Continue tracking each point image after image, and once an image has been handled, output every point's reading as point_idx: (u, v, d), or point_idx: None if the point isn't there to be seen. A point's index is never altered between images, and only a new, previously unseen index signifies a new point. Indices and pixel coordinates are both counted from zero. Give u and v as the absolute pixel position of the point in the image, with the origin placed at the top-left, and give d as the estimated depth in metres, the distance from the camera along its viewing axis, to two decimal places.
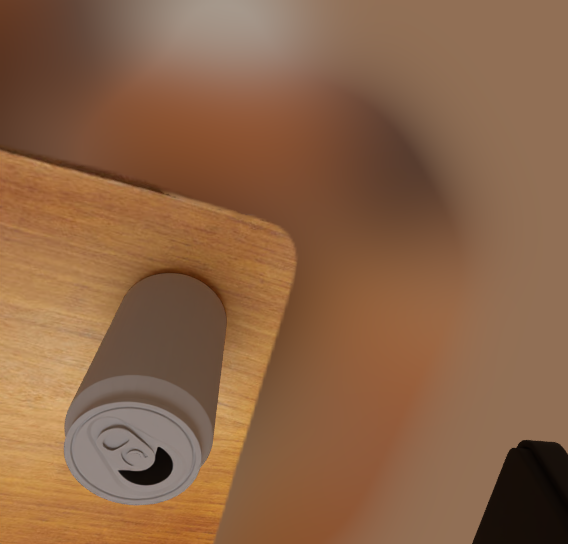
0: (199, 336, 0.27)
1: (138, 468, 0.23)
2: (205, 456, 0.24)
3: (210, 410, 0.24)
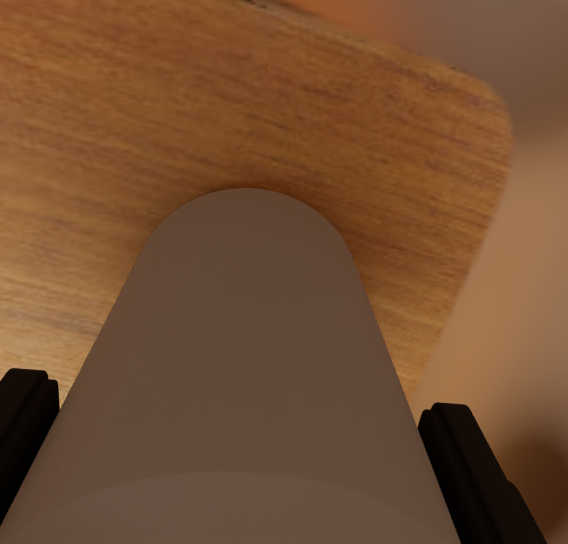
0: (362, 322, 0.10)
1: None
2: None
3: None
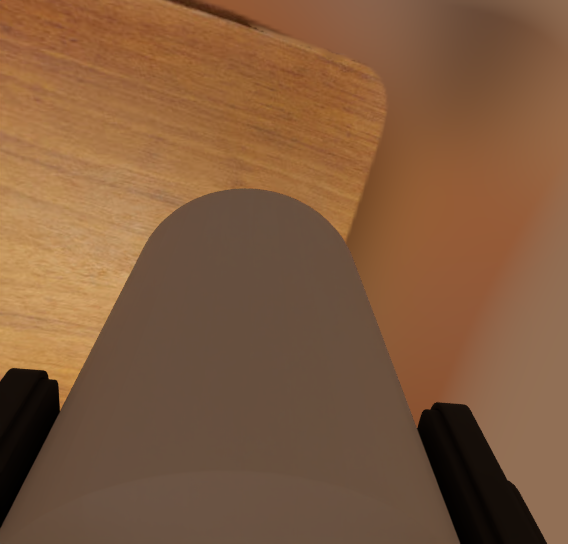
0: (362, 322, 0.10)
1: None
2: None
3: None
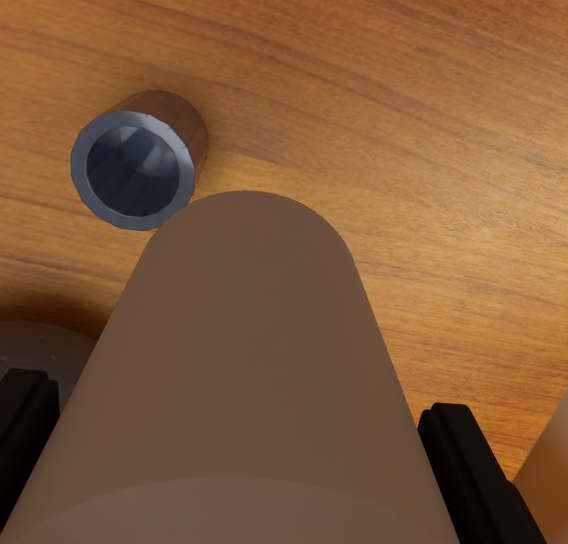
0: (363, 325, 0.10)
1: None
2: None
3: None
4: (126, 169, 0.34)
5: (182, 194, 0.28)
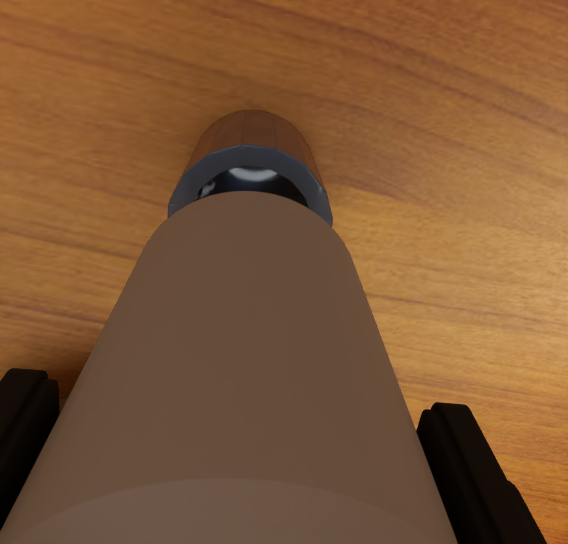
0: (361, 326, 0.10)
1: None
2: None
3: None
4: None
5: None
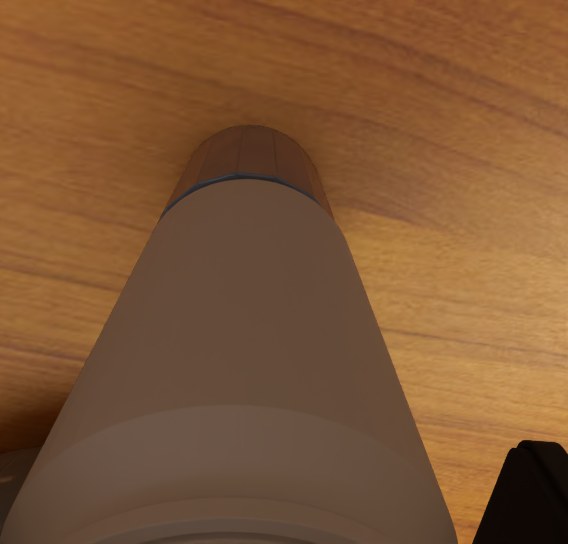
0: (354, 297, 0.11)
1: None
2: None
3: None
4: None
5: None
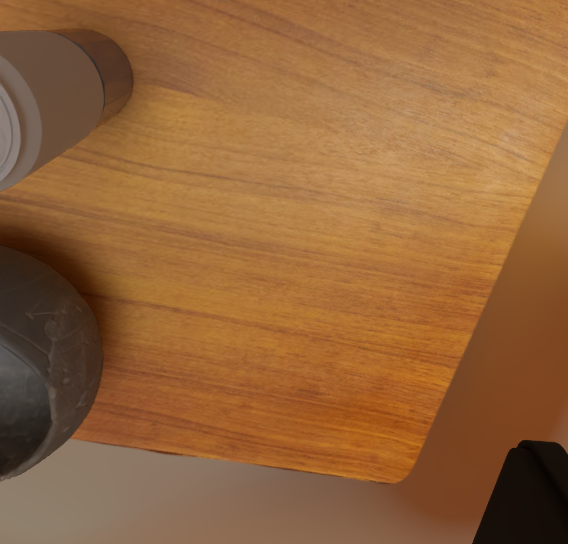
0: (46, 53, 0.25)
1: None
2: (34, 143, 0.22)
3: (38, 94, 0.22)
4: None
5: None
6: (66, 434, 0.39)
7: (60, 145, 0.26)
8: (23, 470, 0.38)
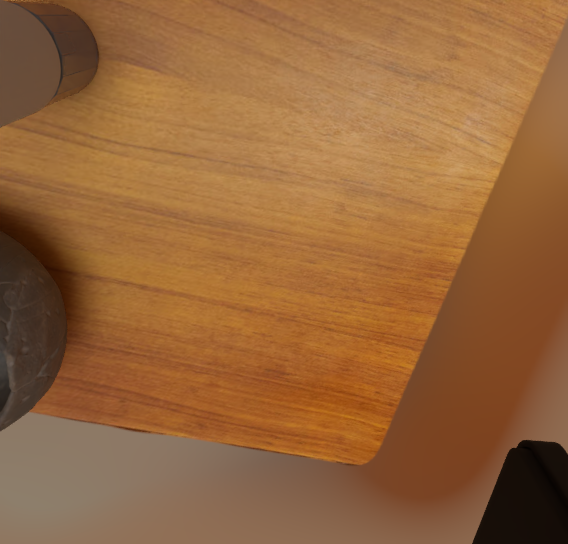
0: None
1: None
2: None
3: None
4: None
5: None
6: (26, 404, 0.40)
7: (8, 109, 0.26)
8: None
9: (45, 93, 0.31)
